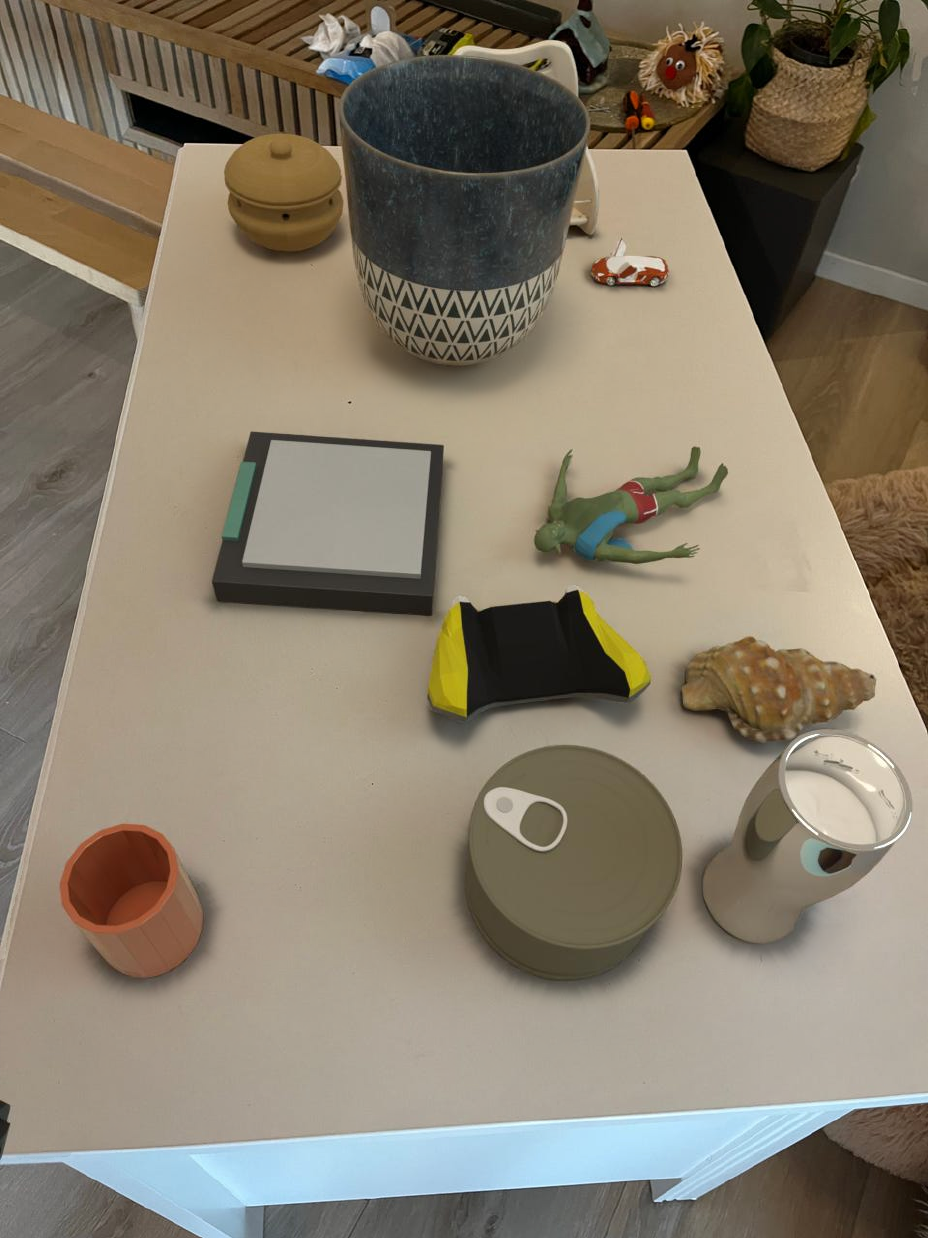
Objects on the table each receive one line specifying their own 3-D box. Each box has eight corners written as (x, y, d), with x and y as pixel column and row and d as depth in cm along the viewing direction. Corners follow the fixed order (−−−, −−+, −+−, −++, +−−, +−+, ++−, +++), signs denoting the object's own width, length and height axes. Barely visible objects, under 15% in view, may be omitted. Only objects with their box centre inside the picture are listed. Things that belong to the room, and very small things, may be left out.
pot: (341, 205, 101) (337, 111, 93) (348, 266, 94) (344, 170, 86) (233, 206, 100) (219, 111, 92) (232, 269, 93) (216, 171, 85)
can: (613, 1023, 52) (639, 991, 46) (426, 924, 55) (430, 882, 49) (680, 846, 58) (710, 799, 53) (511, 765, 61) (522, 713, 56)
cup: (88, 975, 52) (44, 929, 45) (115, 876, 55) (78, 820, 49) (191, 980, 52) (162, 936, 45) (212, 881, 55) (187, 827, 49)
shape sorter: (566, 189, 106) (593, 18, 92) (595, 240, 100) (629, 64, 86) (399, 201, 102) (400, 24, 88) (419, 254, 96) (423, 74, 82)
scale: (216, 601, 68) (210, 576, 65) (254, 452, 77) (249, 425, 75) (431, 615, 68) (433, 591, 66) (442, 465, 78) (444, 439, 75)
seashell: (754, 670, 71) (865, 618, 63) (775, 771, 67) (895, 729, 60) (666, 647, 66) (774, 588, 59) (683, 755, 63) (800, 706, 55)
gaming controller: (645, 726, 64) (607, 612, 69) (663, 683, 59) (622, 565, 65) (432, 752, 61) (411, 632, 67) (435, 711, 57) (412, 586, 63)
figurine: (784, 500, 71) (604, 584, 64) (772, 539, 74) (598, 625, 67) (649, 410, 81) (480, 476, 74) (643, 448, 83) (479, 515, 76)
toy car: (587, 261, 97) (592, 234, 95) (661, 264, 98) (668, 237, 95) (593, 290, 94) (598, 263, 92) (669, 293, 95) (676, 265, 92)
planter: (578, 396, 84) (625, 165, 67) (369, 420, 81) (363, 183, 63) (521, 274, 95) (548, 49, 78) (335, 291, 92) (321, 58, 74)
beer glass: (691, 835, 59) (767, 717, 47) (799, 848, 59) (903, 733, 47) (697, 944, 55) (782, 845, 43) (813, 958, 55) (930, 863, 43)
